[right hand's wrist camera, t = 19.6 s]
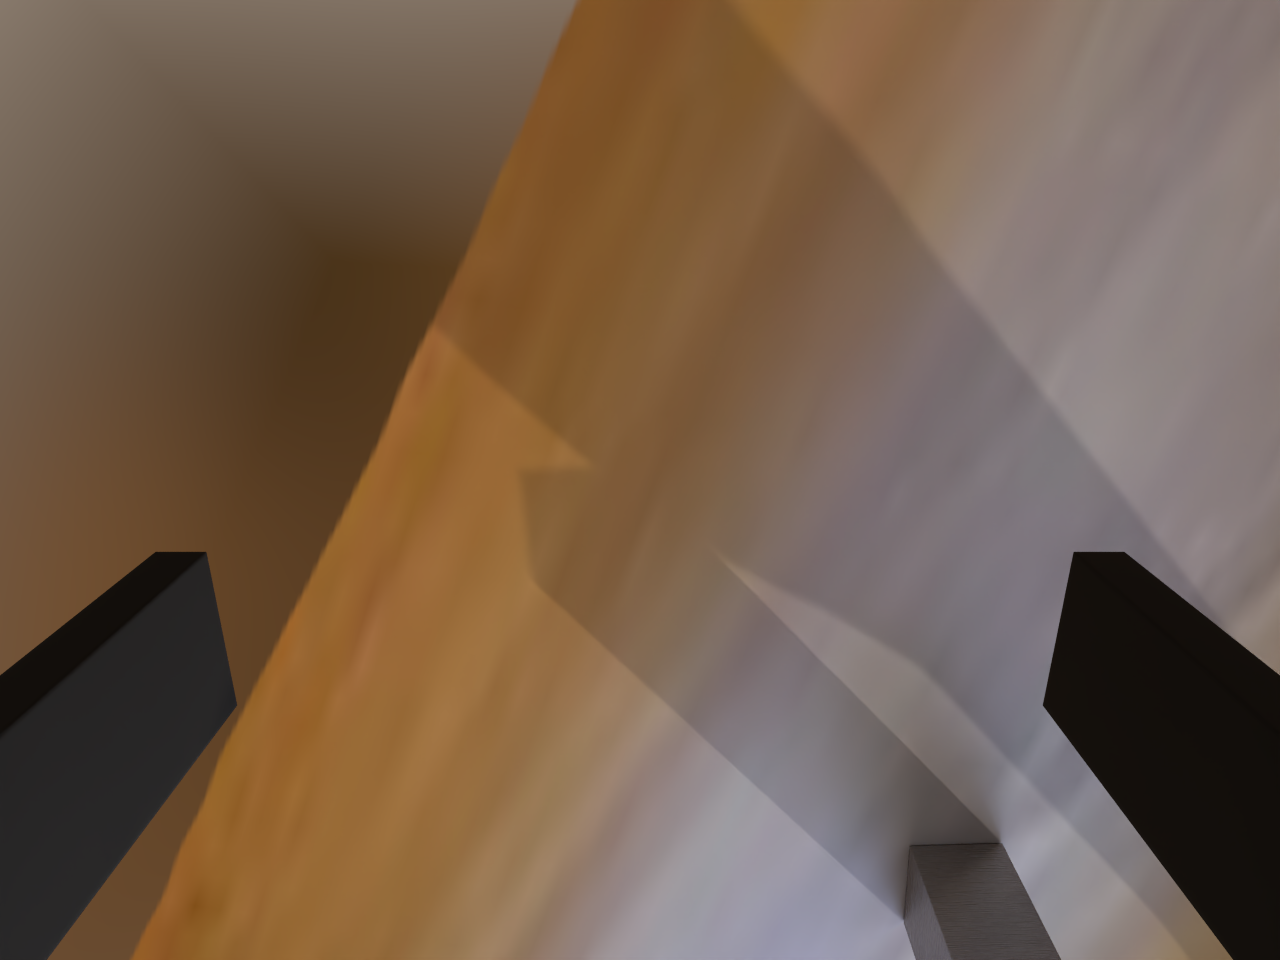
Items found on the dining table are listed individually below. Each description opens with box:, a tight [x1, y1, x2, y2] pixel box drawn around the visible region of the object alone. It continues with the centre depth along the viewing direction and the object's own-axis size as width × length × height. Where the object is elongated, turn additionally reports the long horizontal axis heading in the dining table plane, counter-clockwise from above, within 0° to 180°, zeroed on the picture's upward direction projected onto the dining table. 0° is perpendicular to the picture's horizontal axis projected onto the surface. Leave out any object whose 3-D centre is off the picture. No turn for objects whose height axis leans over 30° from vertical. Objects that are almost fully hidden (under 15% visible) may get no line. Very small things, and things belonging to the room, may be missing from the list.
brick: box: [904, 843, 1061, 960], centre depth 40 cm, size 5×5×8 cm
